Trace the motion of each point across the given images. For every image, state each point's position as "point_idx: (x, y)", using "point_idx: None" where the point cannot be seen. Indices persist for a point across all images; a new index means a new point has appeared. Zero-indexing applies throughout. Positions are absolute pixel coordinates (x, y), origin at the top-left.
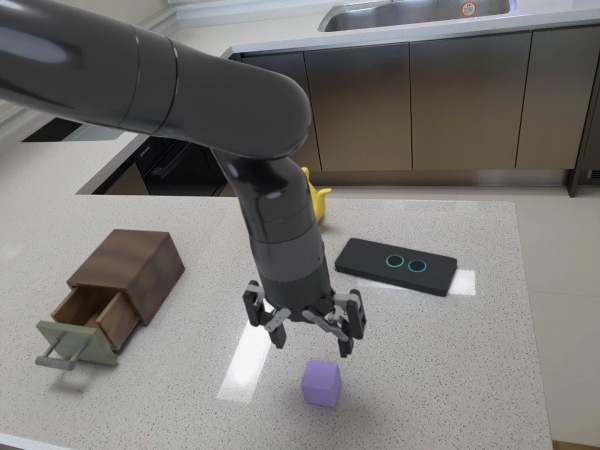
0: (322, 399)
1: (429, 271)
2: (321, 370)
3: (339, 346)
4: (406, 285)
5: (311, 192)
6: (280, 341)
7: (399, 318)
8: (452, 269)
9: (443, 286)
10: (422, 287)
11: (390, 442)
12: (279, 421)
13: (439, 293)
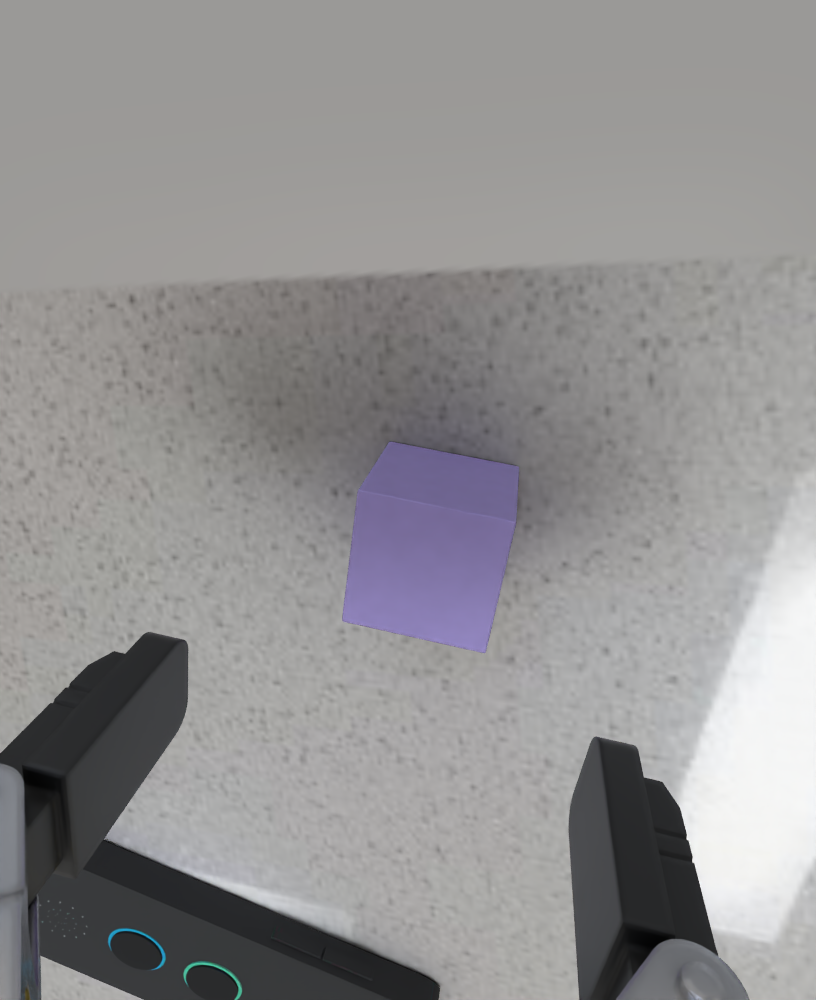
0: (429, 466)
1: (95, 922)
2: (415, 592)
3: (107, 719)
4: (173, 885)
5: None
6: (599, 804)
7: (189, 772)
8: None
9: None
10: (114, 871)
11: (155, 293)
12: (640, 377)
13: None
